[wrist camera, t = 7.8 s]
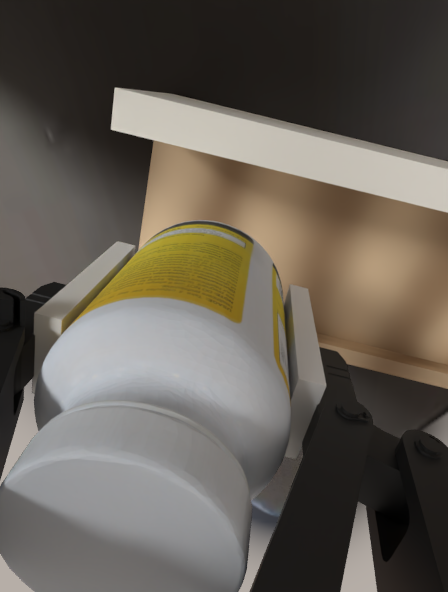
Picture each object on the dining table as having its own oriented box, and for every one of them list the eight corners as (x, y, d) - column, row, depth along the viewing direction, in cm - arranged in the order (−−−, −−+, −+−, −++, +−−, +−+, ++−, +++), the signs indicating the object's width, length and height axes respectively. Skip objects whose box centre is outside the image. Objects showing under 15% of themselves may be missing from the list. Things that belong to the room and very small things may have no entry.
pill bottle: (107, 247, 18) (-143, 456, 7) (251, 191, 16) (209, 353, 5) (171, 371, 20) (55, 670, 9) (304, 332, 18) (345, 642, 8)
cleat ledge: (144, 283, 30) (125, 308, 26) (168, 120, 25) (150, 123, 21) (442, 357, 30) (467, 393, 26) (523, 207, 25) (567, 226, 21)
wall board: (168, 120, 25) (110, 129, 16) (172, 93, 25) (114, 87, 16) (507, 204, 25) (638, 259, 16) (519, 179, 25) (663, 222, 16)
